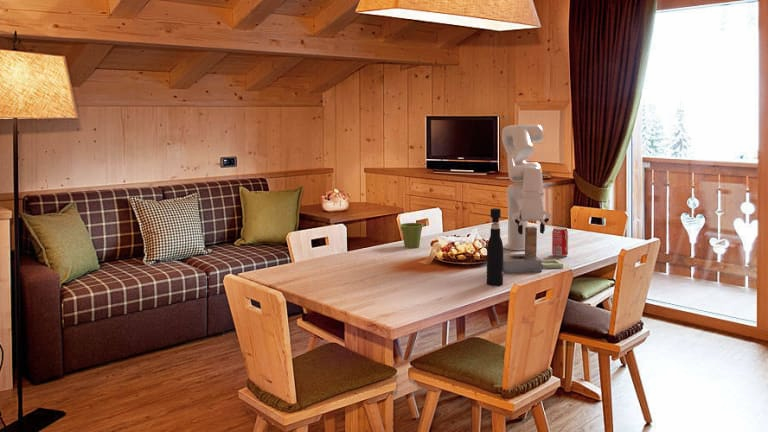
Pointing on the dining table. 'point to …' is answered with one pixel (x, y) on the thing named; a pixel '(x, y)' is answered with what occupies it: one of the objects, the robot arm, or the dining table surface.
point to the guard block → (521, 263)
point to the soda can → (560, 241)
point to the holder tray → (551, 264)
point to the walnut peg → (530, 240)
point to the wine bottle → (495, 252)
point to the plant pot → (411, 234)
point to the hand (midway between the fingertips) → (531, 233)
